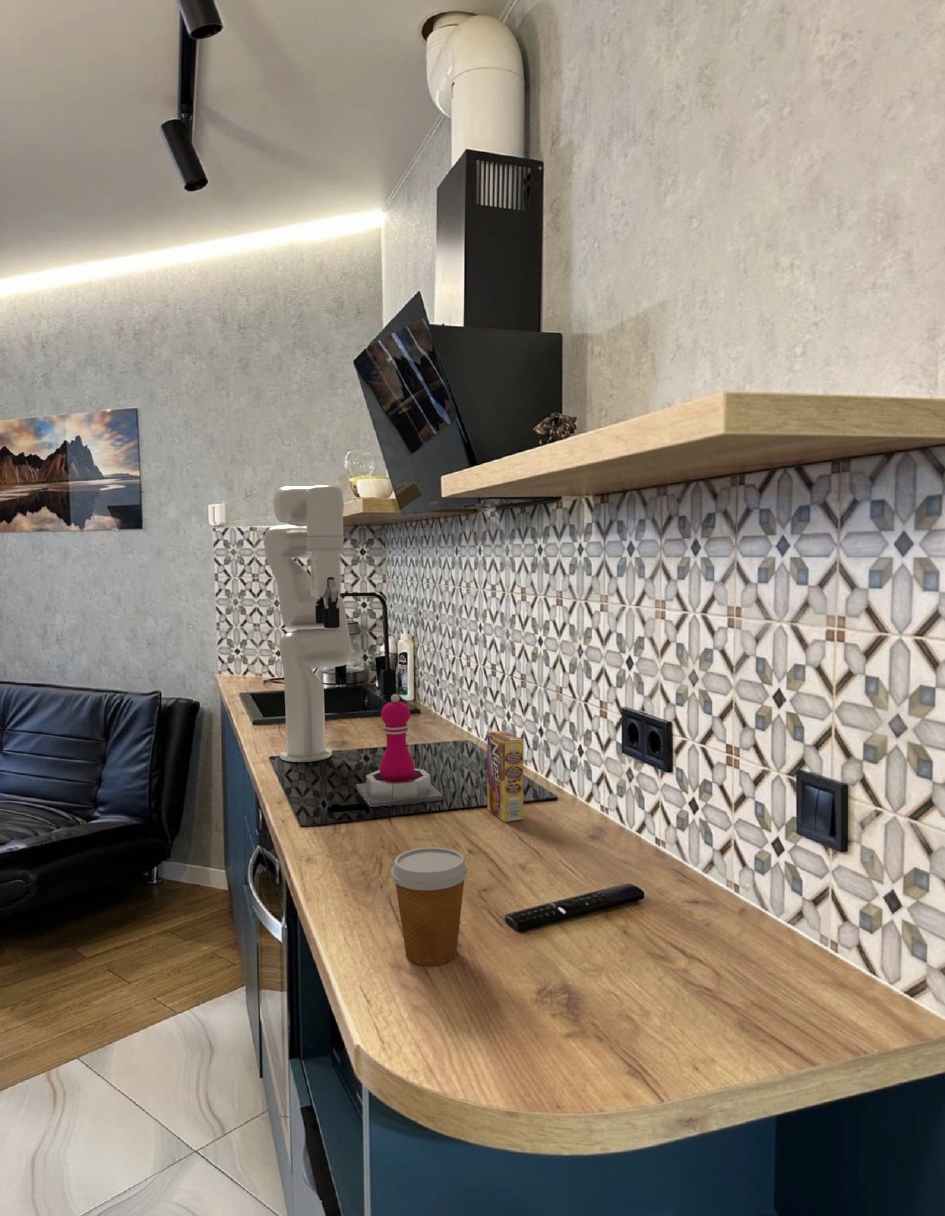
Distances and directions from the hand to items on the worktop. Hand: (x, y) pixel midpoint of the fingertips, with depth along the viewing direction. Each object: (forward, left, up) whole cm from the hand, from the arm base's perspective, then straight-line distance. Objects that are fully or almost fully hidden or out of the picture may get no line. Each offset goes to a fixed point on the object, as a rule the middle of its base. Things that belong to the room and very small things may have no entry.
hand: (327, 625), depth 178 cm
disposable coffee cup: (+80, 0, -35) cm, 88 cm away
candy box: (+31, +28, -35) cm, 55 cm away
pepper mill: (+11, +12, -34) cm, 38 cm away
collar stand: (+10, +12, -35) cm, 39 cm away
